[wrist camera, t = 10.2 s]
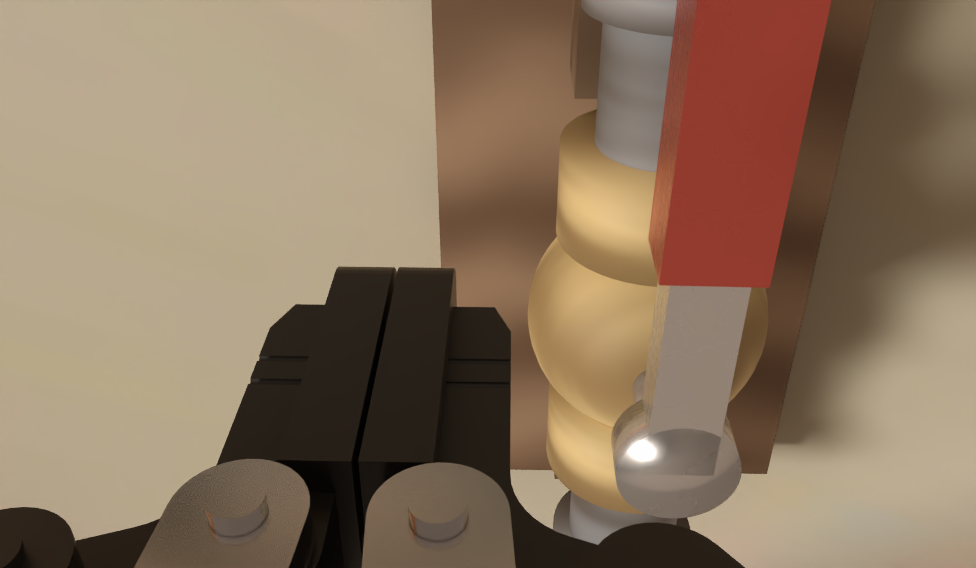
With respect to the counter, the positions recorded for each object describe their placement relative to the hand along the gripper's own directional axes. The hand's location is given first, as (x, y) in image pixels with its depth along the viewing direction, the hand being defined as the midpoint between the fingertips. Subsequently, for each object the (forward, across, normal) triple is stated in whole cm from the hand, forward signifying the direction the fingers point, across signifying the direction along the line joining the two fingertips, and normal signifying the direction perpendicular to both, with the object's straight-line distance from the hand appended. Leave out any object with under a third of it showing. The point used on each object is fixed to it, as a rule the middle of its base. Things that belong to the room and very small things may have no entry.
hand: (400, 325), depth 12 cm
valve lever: (+9, -6, +4) cm, 11 cm away
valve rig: (+22, -6, +10) cm, 24 cm away
